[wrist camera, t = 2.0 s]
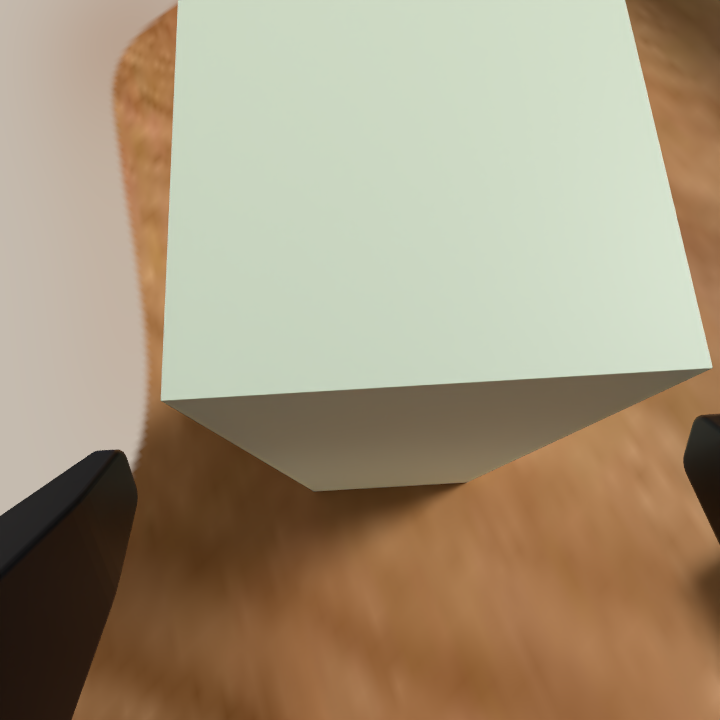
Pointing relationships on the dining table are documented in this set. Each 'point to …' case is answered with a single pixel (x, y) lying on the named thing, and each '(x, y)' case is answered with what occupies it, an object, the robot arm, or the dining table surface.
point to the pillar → (416, 234)
